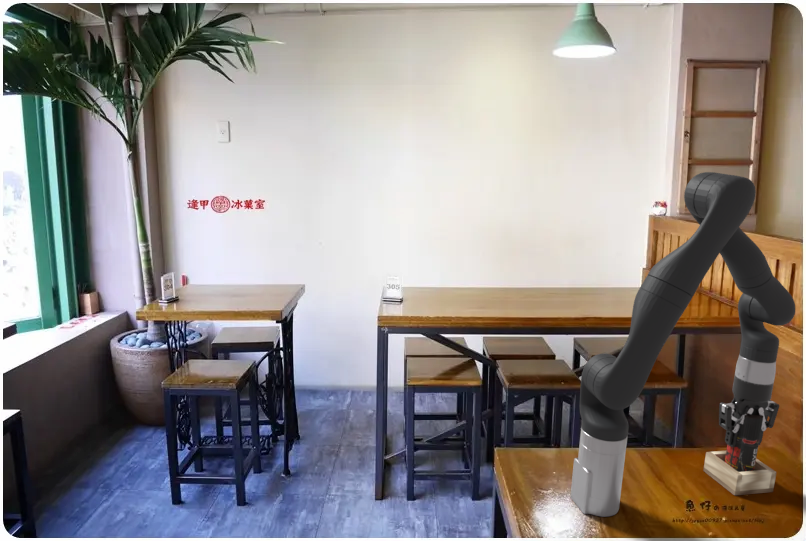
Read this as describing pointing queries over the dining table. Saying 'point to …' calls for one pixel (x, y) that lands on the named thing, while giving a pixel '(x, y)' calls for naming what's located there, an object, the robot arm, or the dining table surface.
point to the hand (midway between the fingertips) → (742, 444)
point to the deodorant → (745, 444)
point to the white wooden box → (739, 475)
